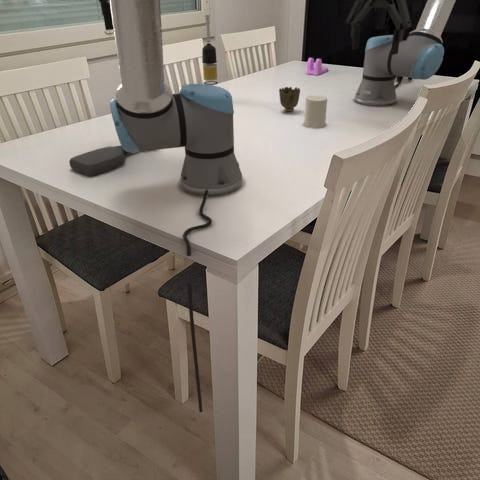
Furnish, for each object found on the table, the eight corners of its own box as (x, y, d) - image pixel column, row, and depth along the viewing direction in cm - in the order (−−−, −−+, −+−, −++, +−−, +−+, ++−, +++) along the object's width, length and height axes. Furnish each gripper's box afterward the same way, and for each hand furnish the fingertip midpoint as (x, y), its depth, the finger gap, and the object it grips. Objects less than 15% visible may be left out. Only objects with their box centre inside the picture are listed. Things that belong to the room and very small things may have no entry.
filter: (220, 99, 177) (217, 15, 161) (206, 100, 176) (202, 16, 160) (215, 96, 182) (212, 14, 166) (202, 97, 180) (197, 14, 164)
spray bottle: (67, 168, 120) (139, 144, 136) (91, 178, 114) (163, 151, 130) (65, 157, 118) (137, 134, 134) (89, 167, 112) (162, 142, 128)
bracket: (317, 75, 212) (318, 59, 208) (306, 73, 215) (307, 58, 211) (329, 70, 221) (331, 55, 217) (319, 69, 223) (320, 54, 220)
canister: (318, 120, 152) (320, 94, 147) (328, 126, 147) (331, 99, 142) (300, 123, 150) (302, 96, 145) (311, 129, 145) (312, 101, 140)
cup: (275, 113, 160) (275, 90, 156) (283, 107, 165) (284, 85, 161) (294, 115, 157) (295, 92, 153) (302, 110, 162) (303, 87, 158)
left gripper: (163, -69, 102) (172, 32, 114) (93, -64, 115) (107, 26, 126) (139, -71, 97) (151, 36, 108) (68, -65, 110) (85, 29, 121)
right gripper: (339, -30, 130) (333, 48, 141) (419, -30, 114) (405, 58, 126) (354, -31, 134) (346, 45, 145) (433, -31, 119) (418, 54, 130)
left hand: (127, 31), depth 117 cm, fingers open, 13 cm apart
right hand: (373, 51), depth 136 cm, fingers open, 13 cm apart
